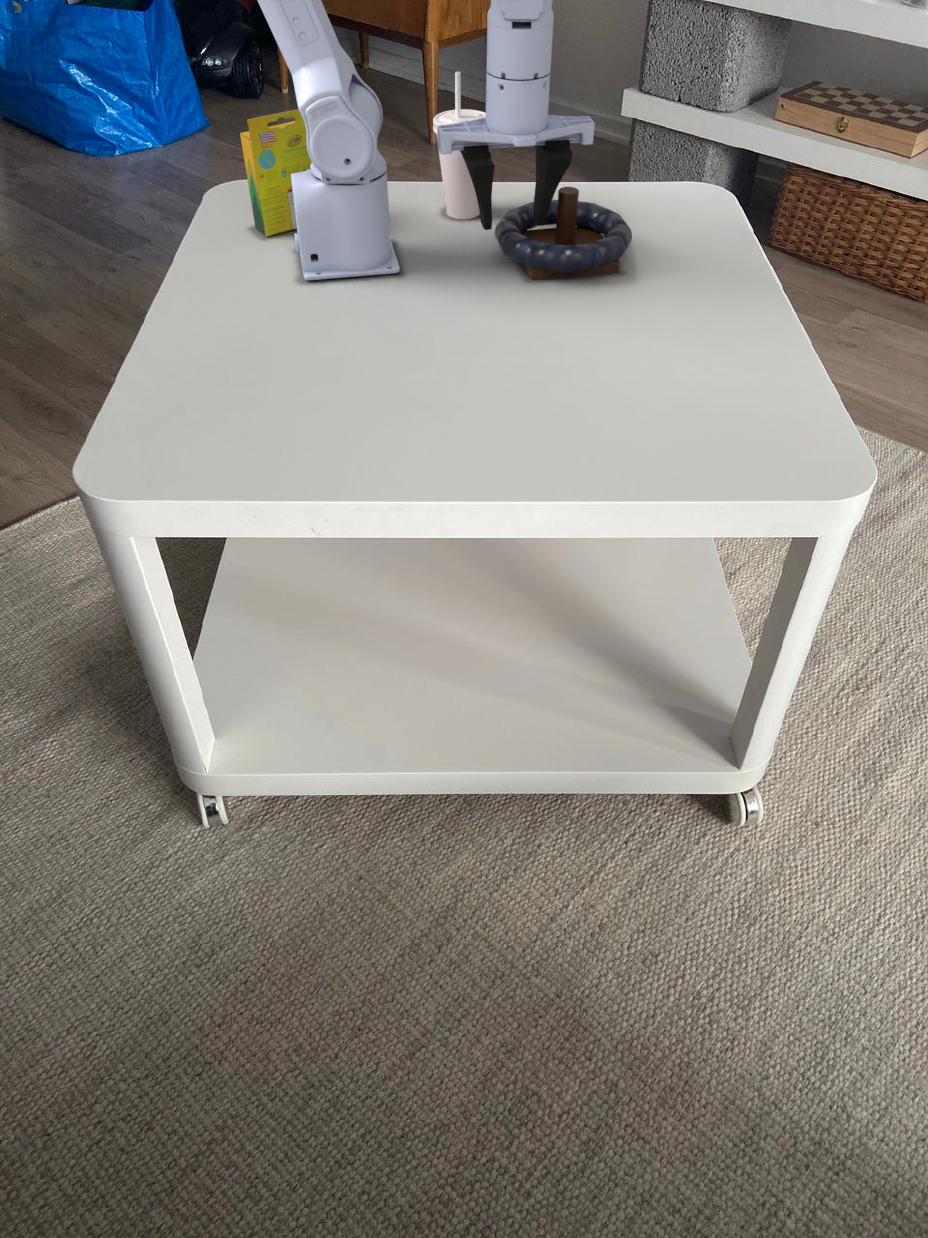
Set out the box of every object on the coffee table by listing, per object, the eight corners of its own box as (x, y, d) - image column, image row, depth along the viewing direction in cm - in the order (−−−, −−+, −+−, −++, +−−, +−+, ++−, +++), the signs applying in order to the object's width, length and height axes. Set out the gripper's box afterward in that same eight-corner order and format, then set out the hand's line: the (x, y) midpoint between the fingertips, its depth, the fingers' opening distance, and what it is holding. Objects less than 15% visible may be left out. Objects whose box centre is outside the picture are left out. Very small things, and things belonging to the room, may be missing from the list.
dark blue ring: (512, 280, 93) (513, 256, 91) (484, 224, 102) (484, 200, 101) (646, 269, 95) (649, 245, 93) (606, 214, 104) (608, 191, 102)
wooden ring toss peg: (531, 280, 96) (534, 211, 91) (511, 242, 102) (513, 176, 97) (619, 272, 97) (627, 204, 92) (593, 235, 103) (600, 170, 98)
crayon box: (315, 213, 107) (303, 98, 99) (327, 222, 105) (316, 106, 97) (253, 228, 104) (235, 110, 96) (264, 237, 103) (247, 119, 94)
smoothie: (436, 200, 110) (434, 62, 100) (493, 201, 110) (496, 63, 100) (432, 223, 105) (429, 81, 95) (491, 224, 105) (494, 82, 95)
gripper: (446, 89, 83) (447, 246, 92) (609, 79, 85) (594, 234, 94) (432, 65, 88) (435, 216, 97) (587, 57, 90) (575, 206, 99)
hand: (512, 223), depth 96 cm, fingers open, 5 cm apart
